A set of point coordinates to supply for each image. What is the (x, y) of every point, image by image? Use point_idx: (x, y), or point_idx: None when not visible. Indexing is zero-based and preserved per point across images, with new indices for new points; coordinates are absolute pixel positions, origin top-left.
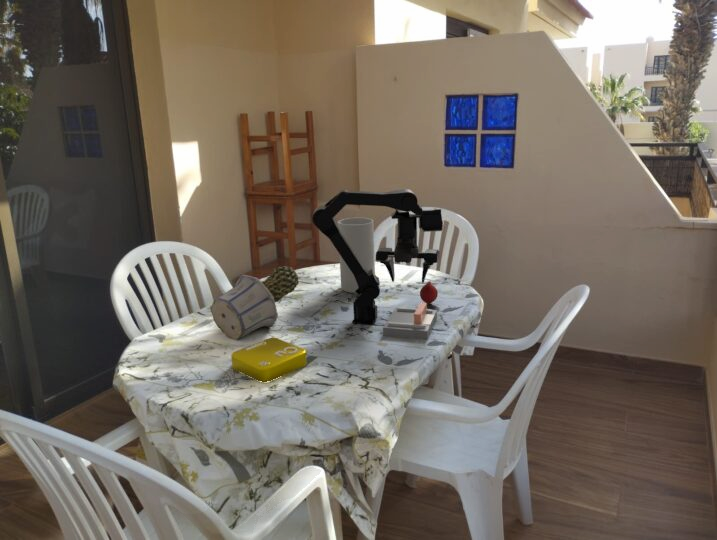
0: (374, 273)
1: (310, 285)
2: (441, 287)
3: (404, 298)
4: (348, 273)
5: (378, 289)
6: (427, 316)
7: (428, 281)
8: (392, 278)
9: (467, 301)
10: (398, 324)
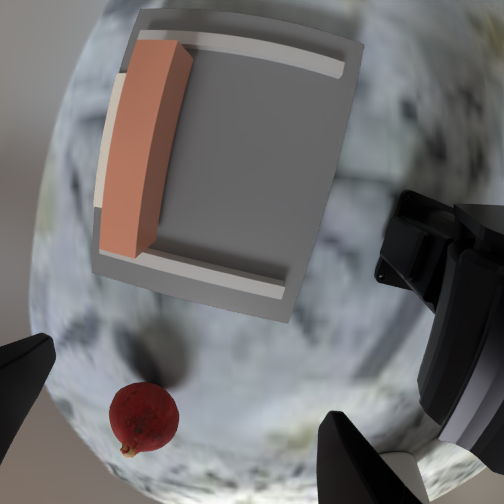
0: (478, 455)
1: (459, 459)
2: (145, 465)
3: (245, 434)
4: (418, 494)
5: (482, 257)
6: None
7: (129, 456)
8: (348, 432)
9: (56, 378)
10: (283, 46)
